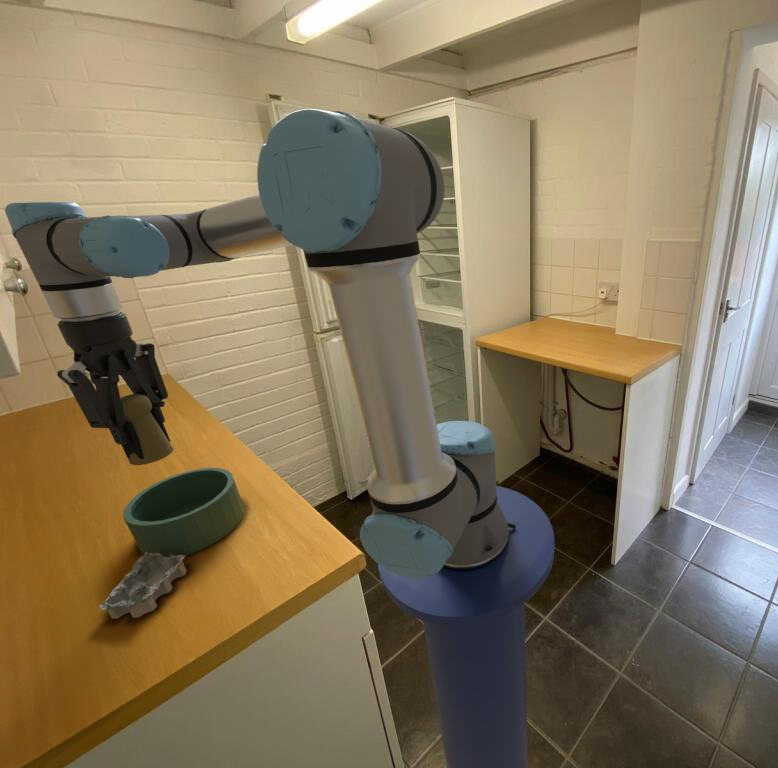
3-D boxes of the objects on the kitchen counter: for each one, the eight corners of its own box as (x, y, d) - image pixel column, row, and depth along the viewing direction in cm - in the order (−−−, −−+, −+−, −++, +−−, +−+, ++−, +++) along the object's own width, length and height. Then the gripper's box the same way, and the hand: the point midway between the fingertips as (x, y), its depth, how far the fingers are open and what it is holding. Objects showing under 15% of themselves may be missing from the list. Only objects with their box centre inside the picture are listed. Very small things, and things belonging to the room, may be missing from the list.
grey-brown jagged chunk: (156, 565, 75) (147, 548, 73) (196, 566, 74) (188, 548, 73) (99, 620, 65) (88, 601, 63) (145, 621, 64) (135, 602, 63)
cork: (138, 449, 73) (112, 393, 69) (178, 442, 75) (156, 387, 71) (122, 468, 68) (93, 408, 64) (166, 460, 70) (141, 401, 65)
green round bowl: (262, 499, 91) (252, 469, 87) (201, 562, 75) (186, 527, 72) (190, 496, 92) (177, 466, 89) (115, 556, 77) (96, 522, 74)
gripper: (121, 302, 70) (171, 424, 79) (-2, 332, 54) (78, 479, 64) (163, 302, 69) (207, 425, 79) (50, 332, 54) (123, 481, 63)
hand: (149, 449), depth 71 cm, fingers closed on cork, 4 cm apart
